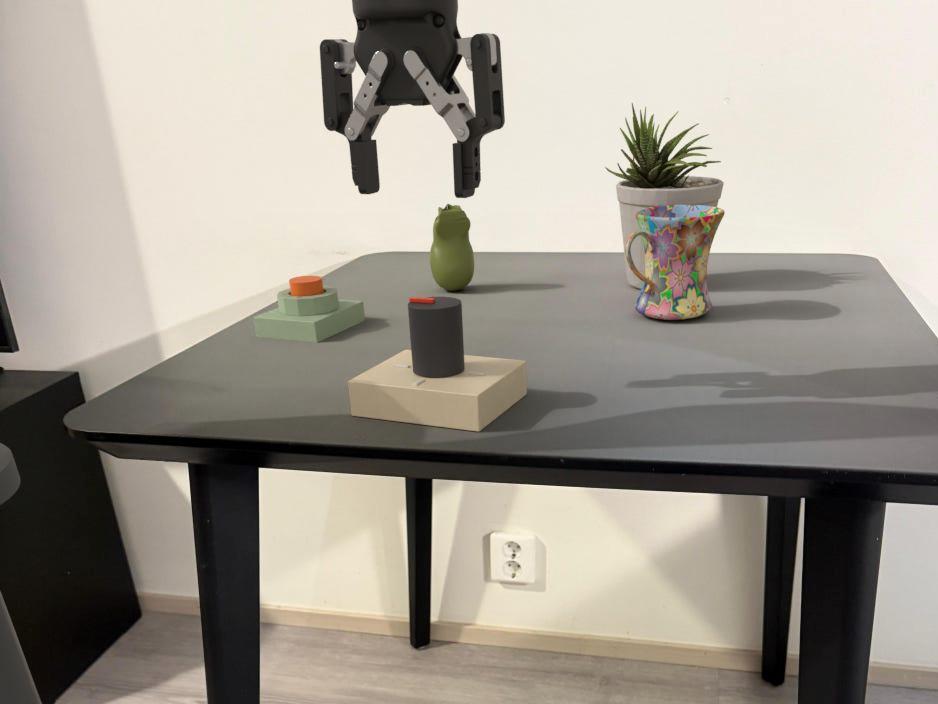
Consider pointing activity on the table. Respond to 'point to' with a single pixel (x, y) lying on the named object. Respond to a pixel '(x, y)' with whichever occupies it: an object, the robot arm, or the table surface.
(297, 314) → the button block
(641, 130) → the potted plant
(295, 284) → the button
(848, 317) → the table surface
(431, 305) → the dial
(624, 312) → the table surface
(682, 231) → the mug
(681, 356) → the table surface
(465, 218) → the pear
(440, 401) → the panel
